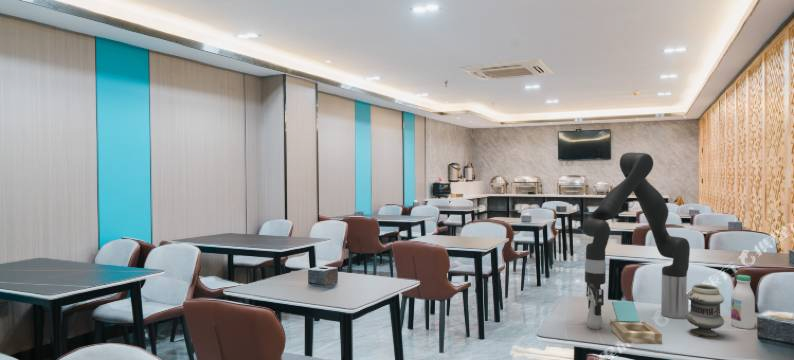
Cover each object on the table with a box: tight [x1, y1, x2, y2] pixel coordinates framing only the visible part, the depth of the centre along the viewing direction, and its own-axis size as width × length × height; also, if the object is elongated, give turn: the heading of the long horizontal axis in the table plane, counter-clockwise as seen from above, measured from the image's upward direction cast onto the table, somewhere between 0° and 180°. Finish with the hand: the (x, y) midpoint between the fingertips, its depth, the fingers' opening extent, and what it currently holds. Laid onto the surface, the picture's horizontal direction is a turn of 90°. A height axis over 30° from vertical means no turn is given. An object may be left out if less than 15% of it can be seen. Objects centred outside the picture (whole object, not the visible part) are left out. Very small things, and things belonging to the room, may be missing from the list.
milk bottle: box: [730, 274, 756, 330], centre depth 204 cm, size 8×8×20 cm
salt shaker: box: [586, 294, 604, 330], centre depth 202 cm, size 6×6×13 cm
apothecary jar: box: [686, 283, 725, 339], centre depth 194 cm, size 12×12×18 cm
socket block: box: [609, 318, 663, 345], centre depth 195 cm, size 13×22×4 cm, turn 175°
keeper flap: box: [611, 300, 641, 323], centre depth 202 cm, size 8×9×1 cm
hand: (594, 312), depth 202 cm, fingers open, 8 cm apart
